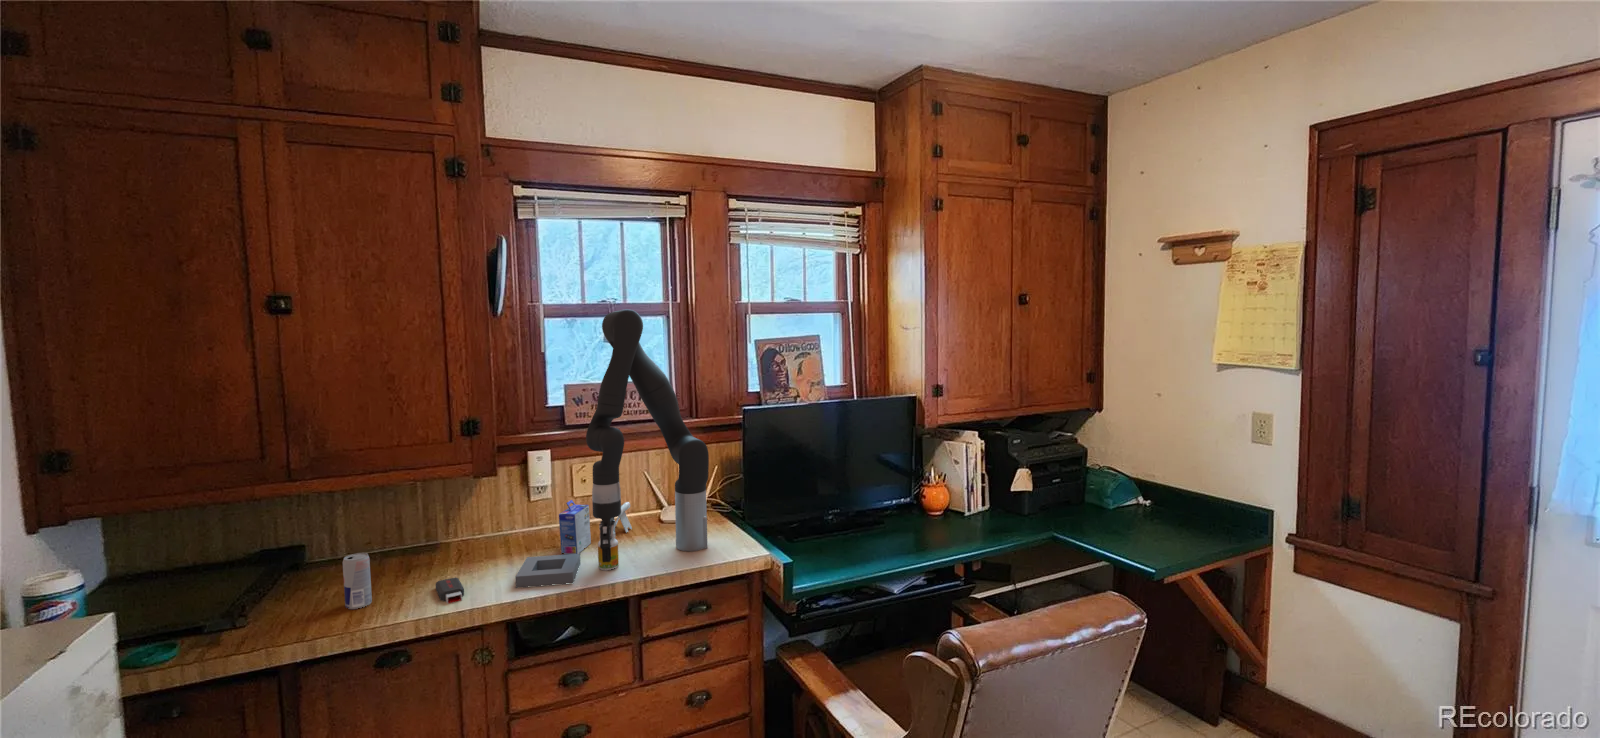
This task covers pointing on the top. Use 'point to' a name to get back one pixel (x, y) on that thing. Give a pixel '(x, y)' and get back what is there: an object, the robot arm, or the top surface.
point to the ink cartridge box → (574, 528)
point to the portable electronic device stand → (624, 517)
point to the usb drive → (450, 590)
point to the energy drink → (357, 580)
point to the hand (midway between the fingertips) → (608, 556)
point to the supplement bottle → (614, 555)
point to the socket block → (548, 570)
